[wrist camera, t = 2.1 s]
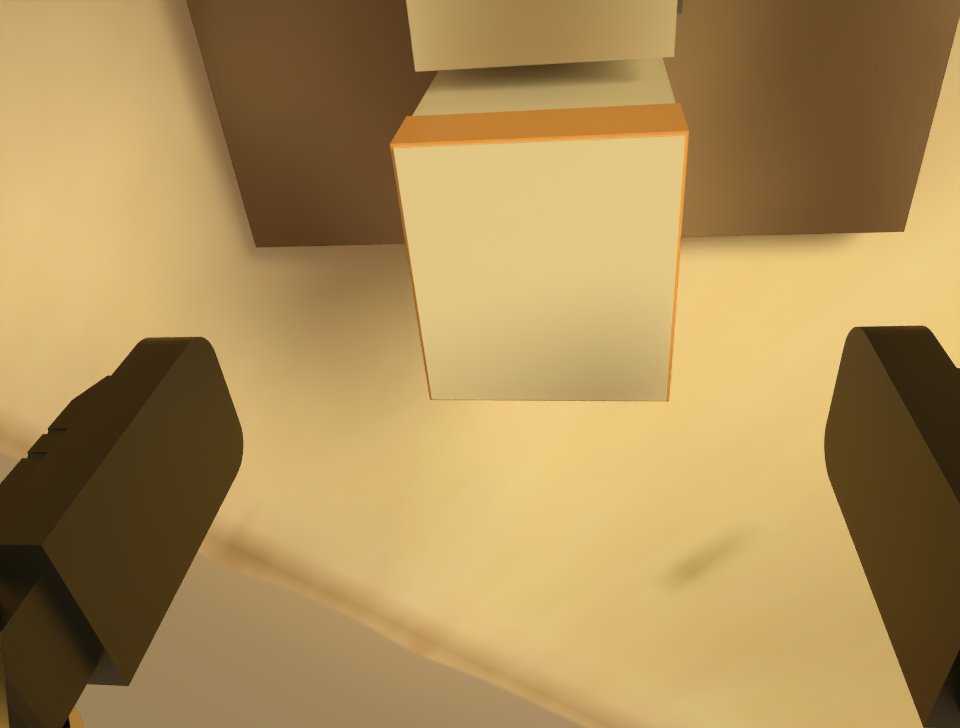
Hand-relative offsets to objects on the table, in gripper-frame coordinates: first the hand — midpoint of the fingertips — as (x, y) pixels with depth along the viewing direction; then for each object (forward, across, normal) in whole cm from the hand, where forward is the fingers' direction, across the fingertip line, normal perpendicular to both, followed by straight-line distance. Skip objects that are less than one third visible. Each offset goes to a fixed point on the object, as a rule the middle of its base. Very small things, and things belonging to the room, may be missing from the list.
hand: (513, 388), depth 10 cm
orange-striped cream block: (+9, 0, 0) cm, 9 cm away
